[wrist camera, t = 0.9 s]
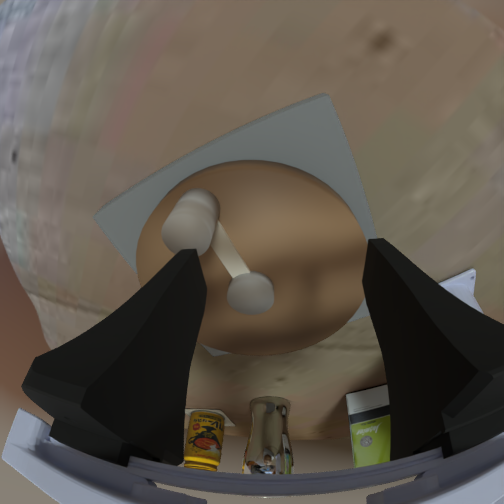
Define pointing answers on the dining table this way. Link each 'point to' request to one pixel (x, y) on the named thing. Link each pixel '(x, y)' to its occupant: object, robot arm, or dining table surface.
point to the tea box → (369, 426)
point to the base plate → (251, 148)
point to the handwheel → (261, 254)
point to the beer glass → (269, 439)
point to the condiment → (205, 438)
